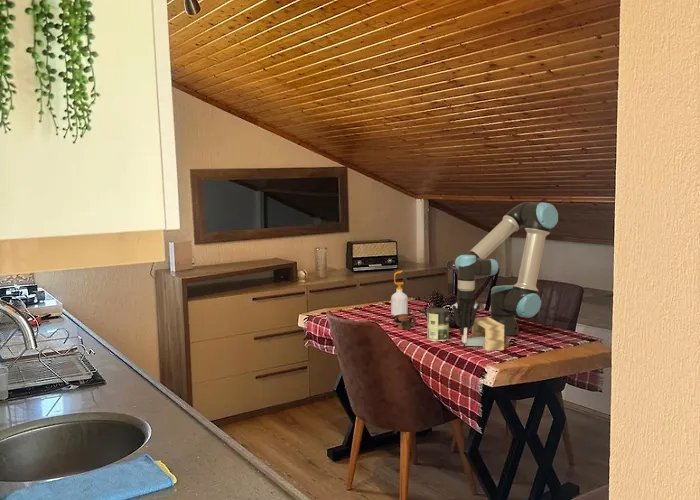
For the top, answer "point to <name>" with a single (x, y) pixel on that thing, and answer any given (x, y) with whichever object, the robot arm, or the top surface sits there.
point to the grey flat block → (475, 341)
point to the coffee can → (438, 324)
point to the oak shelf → (490, 333)
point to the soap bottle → (399, 300)
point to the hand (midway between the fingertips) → (464, 341)
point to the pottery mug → (404, 321)
